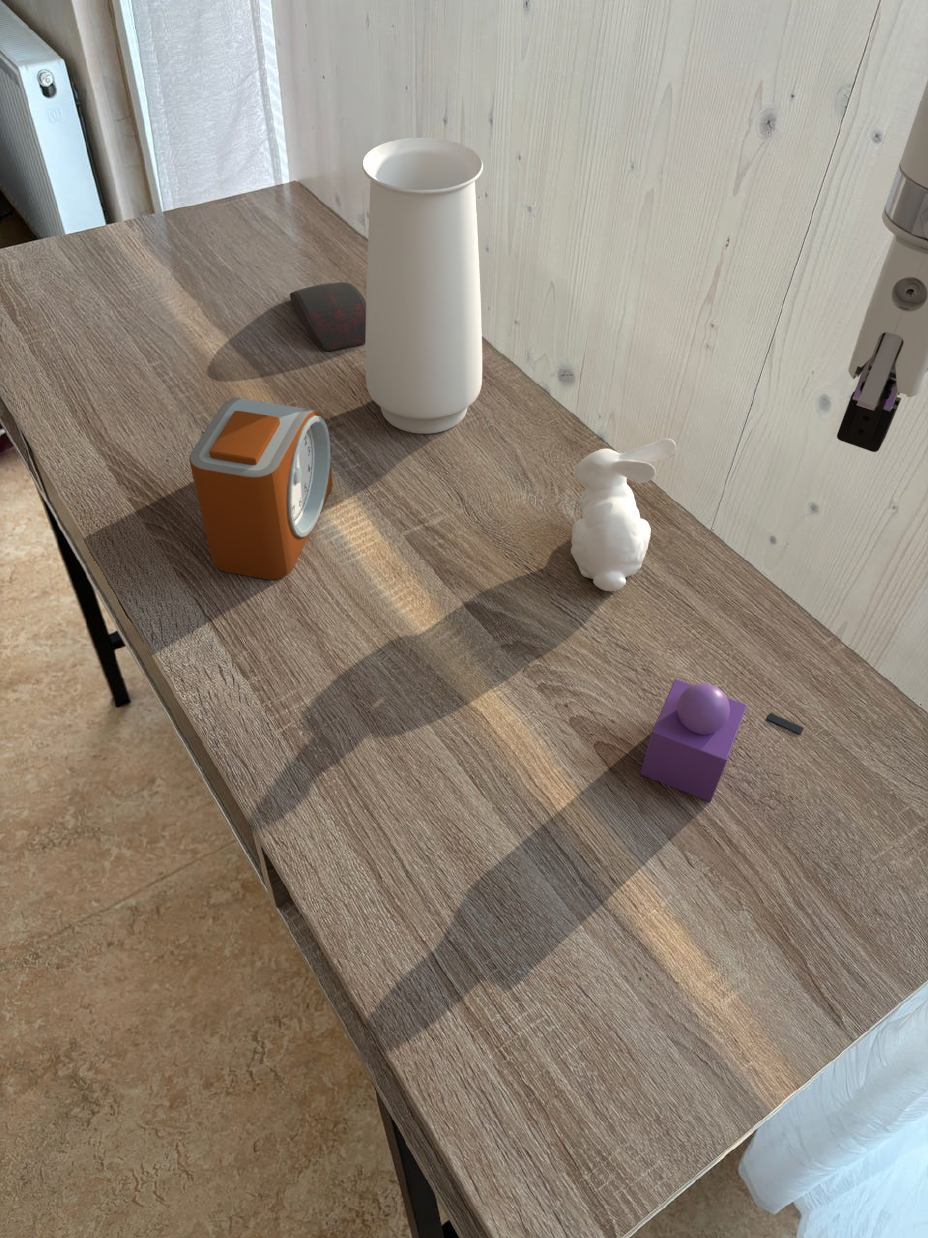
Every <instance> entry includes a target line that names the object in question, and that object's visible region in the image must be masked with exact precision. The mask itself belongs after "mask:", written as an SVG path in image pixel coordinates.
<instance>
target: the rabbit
mask: <svg viewBox="0 0 928 1238" xmlns="http://www.w3.org/2000/svg"><path fill="white" fill-rule="evenodd" d="M676 453H677V444H676V442H675V441H674V440H673V439H671V438H667V437H665V438H662V439H659V440H657V441H654V442H652V443H648V444H646V445H642V446H640V447H637V448H634V449H632V450H629V451H626V452H624V453H623V452H622V453H620V452H619V451H616V450H613V449H611V448H600V449H598V450H595V451H593V452H591V453H589V454H587V455H586V456H585V457H583V458H582V459H581V460H580V461H579V462H578V463H577V464H576V466H575V480H576V482H577V483H579V484H581V485H583V486H586V487H585V489H584V490H583V491H582V494H581V497H580V499H579V505H580V506H579V511H580V517H581V518H579V519H578V520H576V521H575V522H574V523H573V525H572V527H571V531H572V532H571V548H570V554H571V555H572V557H573V560H574V561H575V563H576V565H577V567H578V570H579V572H580V575H582V577H584V578H588V579H592V580H593V581H592V583H593V585H595V586H596V587H597V588H598V589H600V590H602V591H605V592H617V591H620V590H621V589H622V588H624V586H625V585H626V584H627V580H626V578H629V577H632V576H634V575H635V574H637V572H638V571H639V570H640V569H641V568H642V565H643V562H644V559H645V557H646V554H647V551H648V548H649V544H650V543H649V542H650V540H651V533H652V530H651V526H650V523H649V522H648V521H647V520H646V519H643V518H642V517H641V515H640V511H639V509H638V507H637V502H636V499H635V495H634V492H633V490H632V488H631V487H630V485H629V484H627V481H628V480H630V481H631V482H634V483H647V482H649V481H651V480H653V479H654V478H655V477H656V474H657V471H656V468H655V467H654V466H653V464H651V463H653V462H659V461H663V460H667V459H670V458H672V457H673V456H674V455H676ZM627 479H628V480H627Z"/></svg>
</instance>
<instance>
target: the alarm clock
mask: <svg viewBox="0 0 928 1238" xmlns="http://www.w3.org/2000/svg"><path fill="white" fill-rule="evenodd" d="M188 458H189V460H188V461H189V465H190V470H191V474H192V479H193V482H194V488H195V492H196V496H197V500H198V506H199V509H200V514H201V518H202V522H203V527H204V531H205V536H206V541H207V544H208V549H209V550H208V551H209V554H210V558H211V561H212V565H214V567H215V568H216V569H218V570H219V571H222V572H225V573H230V574H235V575H239V576H240V575H241V576H244V577H245V576H246V577H251V578H257V579H263V580H268V581H269V580H271V581H272V580H273V581H274V580H279V579H282V578H284V577H286V576H288V575H289V574H290V573H291V572H292V571H293V570H294V567H295V566H296V564H297V562H298V559H299V557H300V555H301V553H302V551H303V549H304V548H305V547H304V546H305V545H306V543H307V541H308V538H309V536H310V534H311V532H312V531H313V529H314V527H315V526H316V524H317V522H318V519H319V517H320V515H321V512H322V509H323V507H324V505H325V503H326V501H327V500H328V497H329V495H330V493H331V491H332V489H333V487H334V484H333V483H334V481H333V471H332V460H331V439H330V433H329V429H328V426H327V424H326V420H325V418H324V416H323V414H322V413H321V412H320V411H319V410H316V409H310V408H305V407H298V406H291V405H286V404H285V405H284V404H278V403H272V402H266V401H260V400H253V399H248V398H247V399H246V398H240V397H231V398H229V399H228V400H226V401H225V402H224V403H223V404H222V405H221V407H219V409H218V410H217V411H216V413H215V414H214V416H213V418H212V420H211V421H210V422H209V424H208V426H207V427H206V429H205V430H204V431H203V433H202V435H201V436H200V438H199V440H198V441H197V443H196V444H195V445H194V447H193V449H192V450H191V452H190V454H189V457H188Z"/></svg>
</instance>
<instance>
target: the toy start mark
mask: <svg viewBox="0 0 928 1238" xmlns="http://www.w3.org/2000/svg"><path fill="white" fill-rule="evenodd" d="M766 720H767V721H768V722H771V723H774V724H776V725H777V726H779V727H783V728H785V729H787V730H789V731H791V732H793V733H796V734H798V735H802V733H803V731H804V729H805V727H803V726H801V725H799V724H797V723H794V722H793V721H789V720H788V719H785V718H784V717H781V716H779V715H776V714H775V713H772V712H770V713H769V715H768V716H767V719H766Z"/></svg>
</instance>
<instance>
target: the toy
mask: <svg viewBox="0 0 928 1238" xmlns="http://www.w3.org/2000/svg"><path fill="white" fill-rule="evenodd" d="M747 707H748V705H747V704H746V703H743V702H740V701H737V700H735V699H732V698H729V697H727V695H726V694H725V692H724V691H723V690H722V689H720V688H719V687H718V686H716V685H713V684H711V683H707V682H700V683H695V684H692V683H689V682H686V681H683V680H680V679H678V678H675V679H674V681H673V683H672V685H671V687H670V690H669V692H668V694H667V697H666V699H665V701H664V704H663V706H662V708H661V710H660V712H659V715H658V717H657V719H656V722H655V723H654V726H653V728H652V730H651V734H650V736H649V740H648V744H647V748H646V753H645V756H644V759H643V763H642V766H641V771H640V775H641V776H643V777H646V778H649V779H651V780H654V781H656V782H659V783H661V784H663V785H666V786H669V787H671V788H673V789H676V790H679V791H681V792H683V793H686V794H689V795H691V796H693V797H696V798H699V799H701V800H704V801H706V802H709V803H711V802H712V801H713V798H714V796H715V792H716V791H717V787H718V785H719V782H720V779H721V777H722V774H723V772H724V769H725V767H726V764H727V761H728V759H729V756H730V753H731V750H732V748H733V745H734V743H735V740H736V738H737V734H738V732H739V729H740V726H741V724H742V720H743V718H744V715H745V713H746V710H747Z"/></svg>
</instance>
